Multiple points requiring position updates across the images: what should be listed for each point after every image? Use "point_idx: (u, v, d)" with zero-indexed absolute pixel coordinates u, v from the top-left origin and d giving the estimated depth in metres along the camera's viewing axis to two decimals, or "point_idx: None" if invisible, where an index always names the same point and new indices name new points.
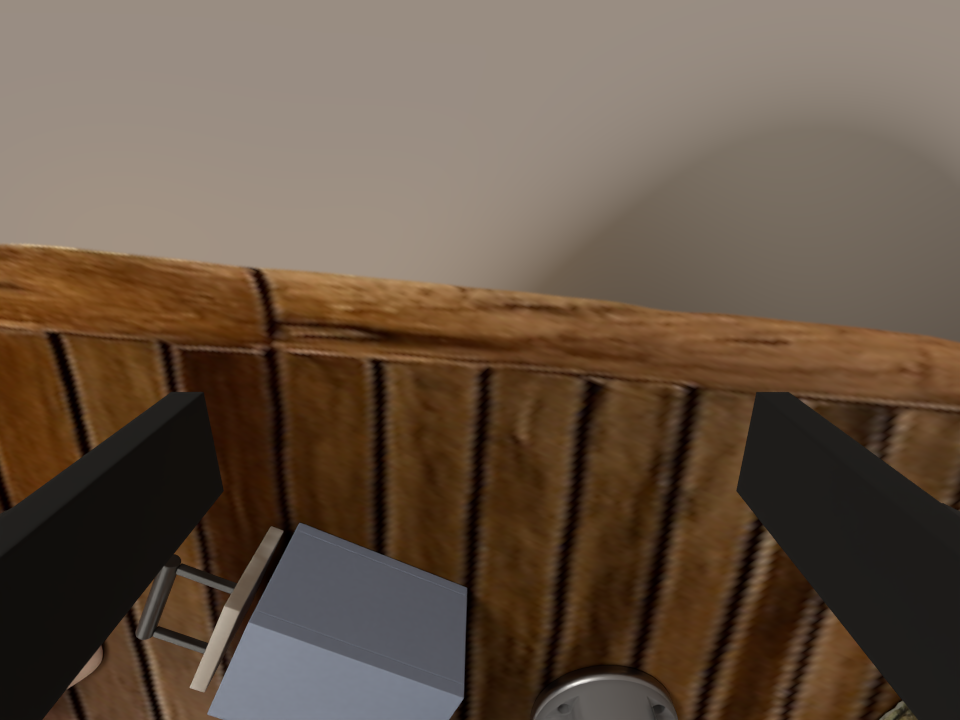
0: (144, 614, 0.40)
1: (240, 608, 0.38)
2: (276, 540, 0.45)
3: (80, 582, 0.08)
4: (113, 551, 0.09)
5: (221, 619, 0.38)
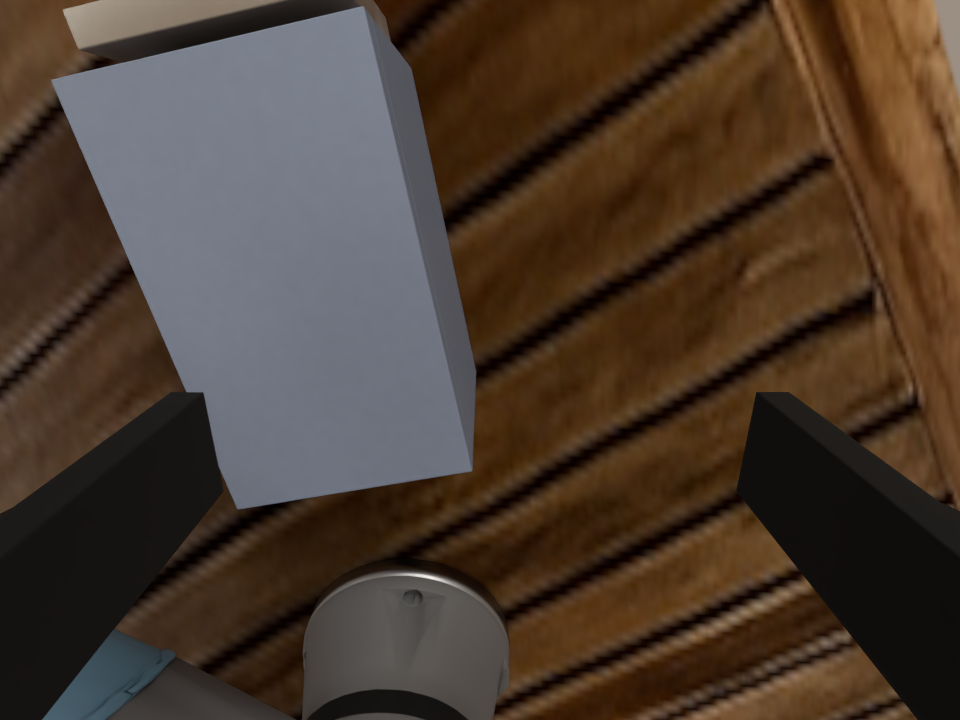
0: None
1: None
2: None
3: (80, 582, 0.08)
4: (113, 551, 0.09)
5: None
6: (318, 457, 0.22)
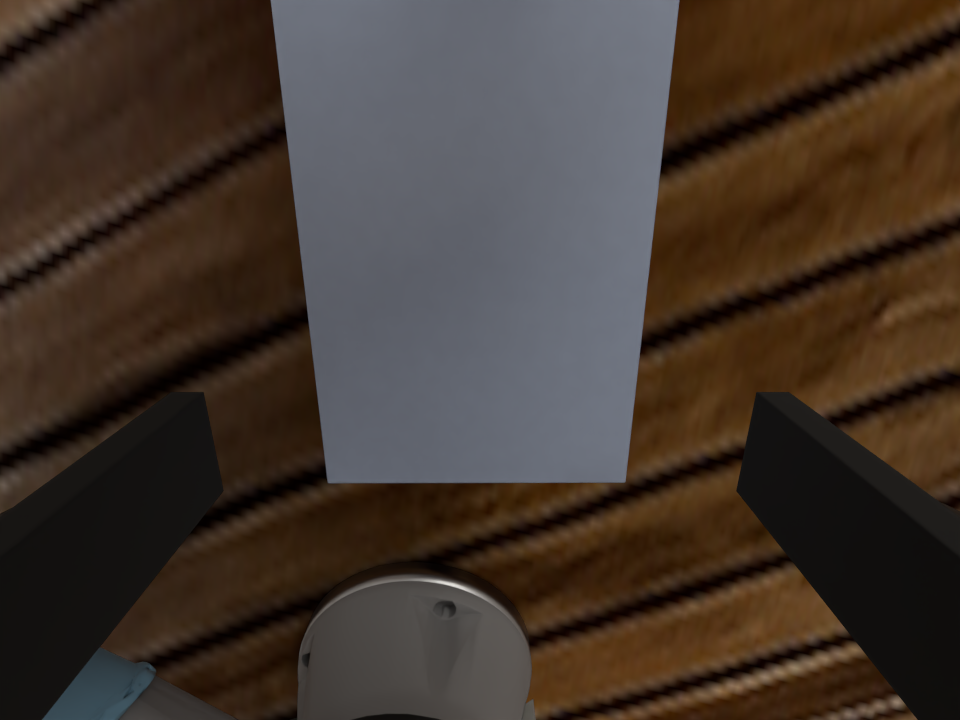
0: None
1: None
2: None
3: (80, 582, 0.08)
4: (113, 551, 0.09)
5: None
6: (448, 436, 0.18)
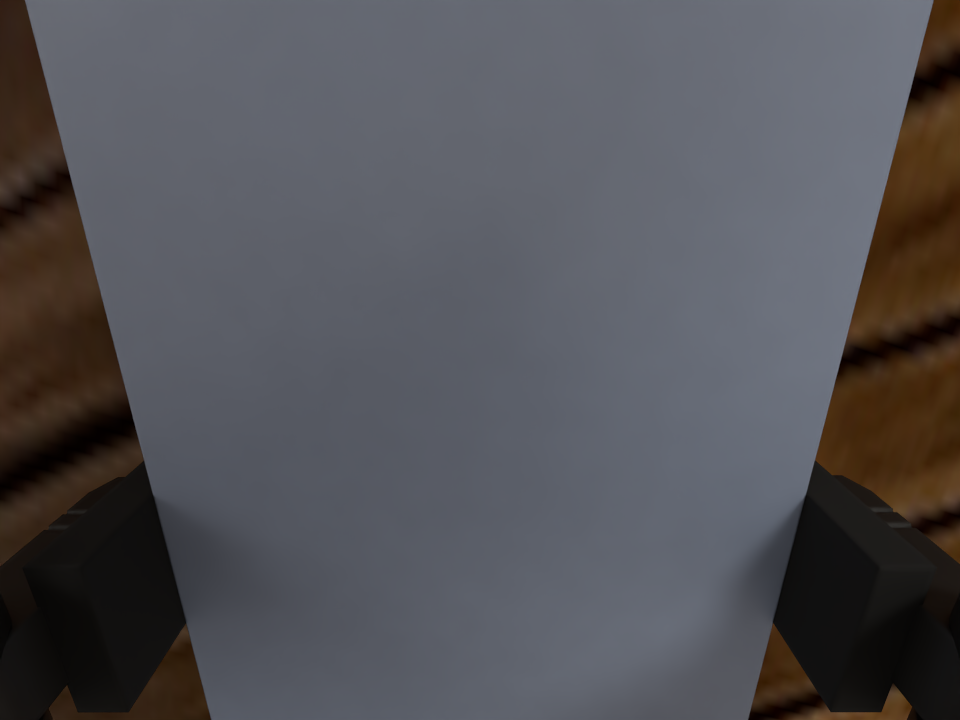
0: None
1: None
2: None
3: None
4: None
5: None
6: (428, 656, 0.09)
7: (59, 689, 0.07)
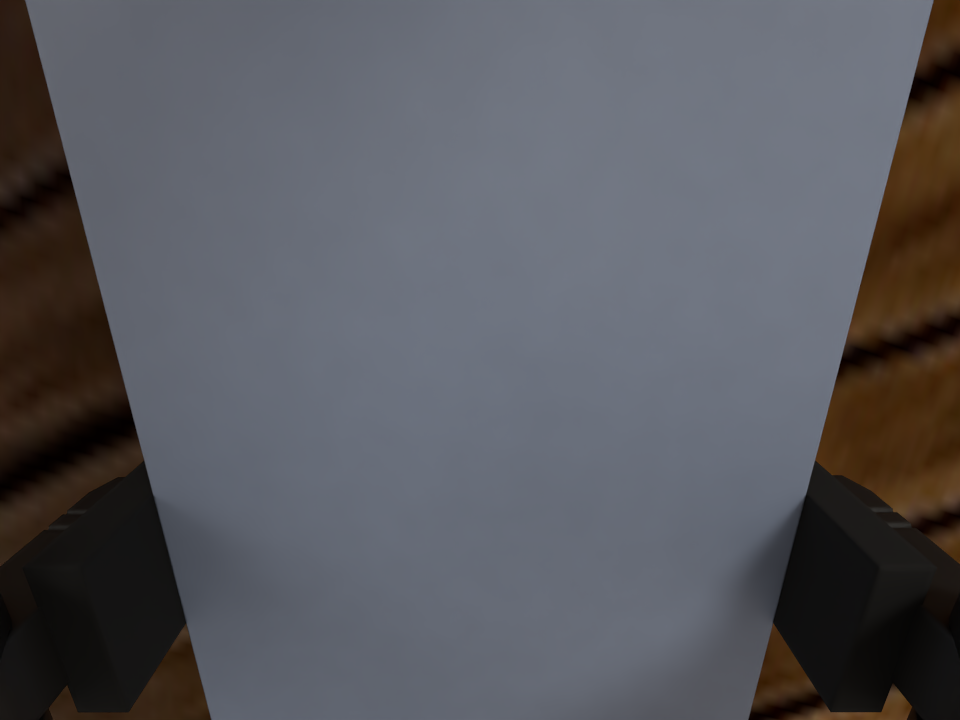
0: None
1: None
2: None
3: None
4: None
5: None
6: (428, 655, 0.09)
7: (59, 690, 0.07)
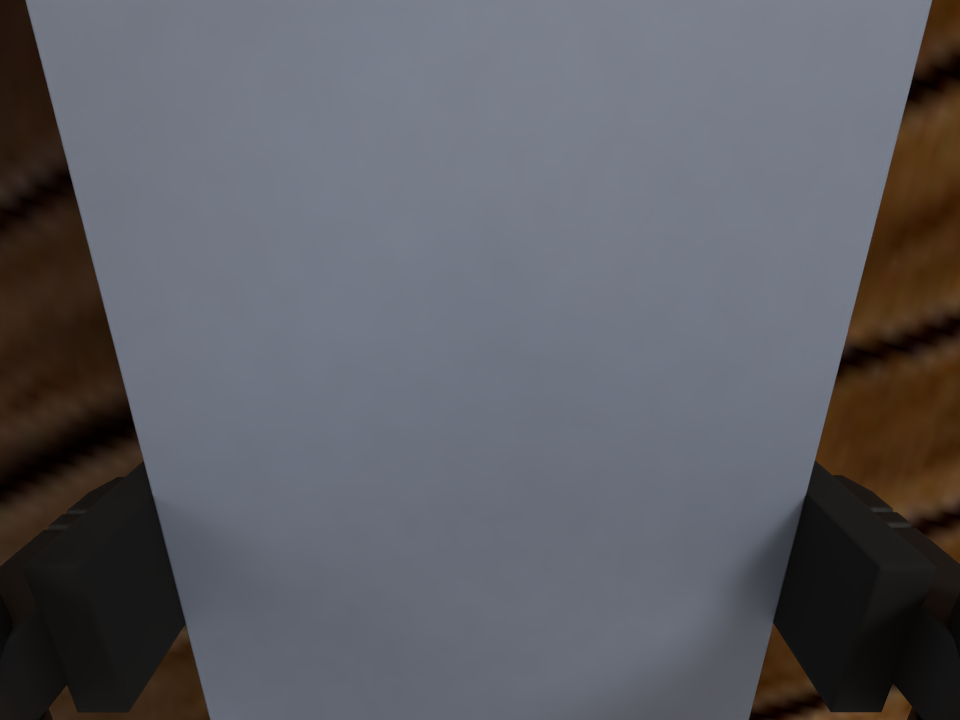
0: None
1: None
2: None
3: None
4: None
5: None
6: (428, 656, 0.09)
7: (59, 689, 0.07)
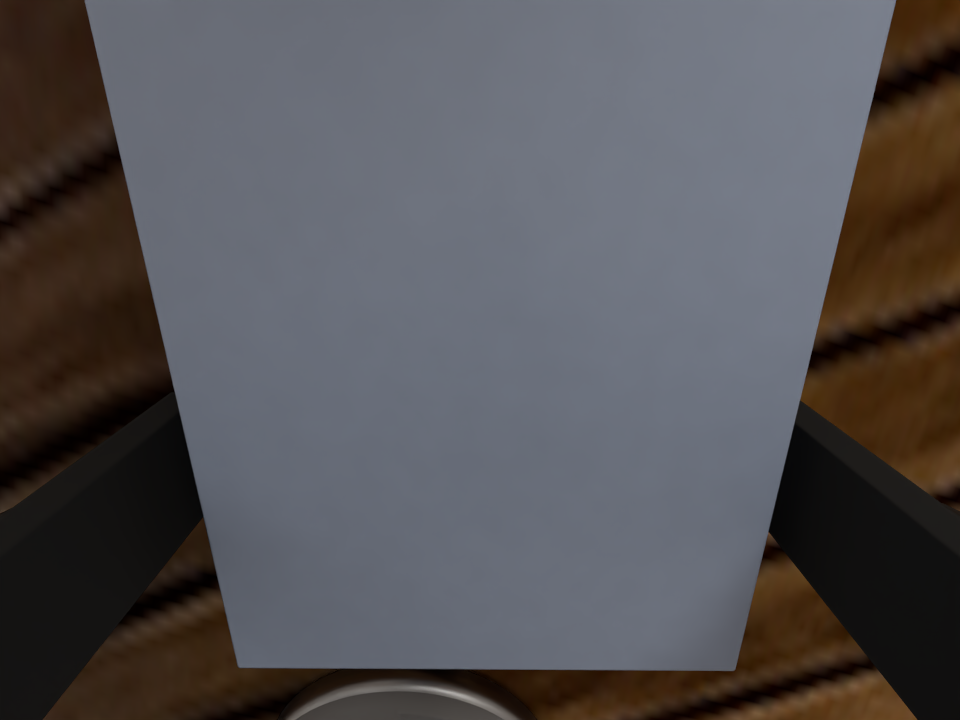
0: None
1: None
2: None
3: (80, 582, 0.08)
4: (112, 551, 0.09)
5: None
6: (438, 601, 0.10)
7: None
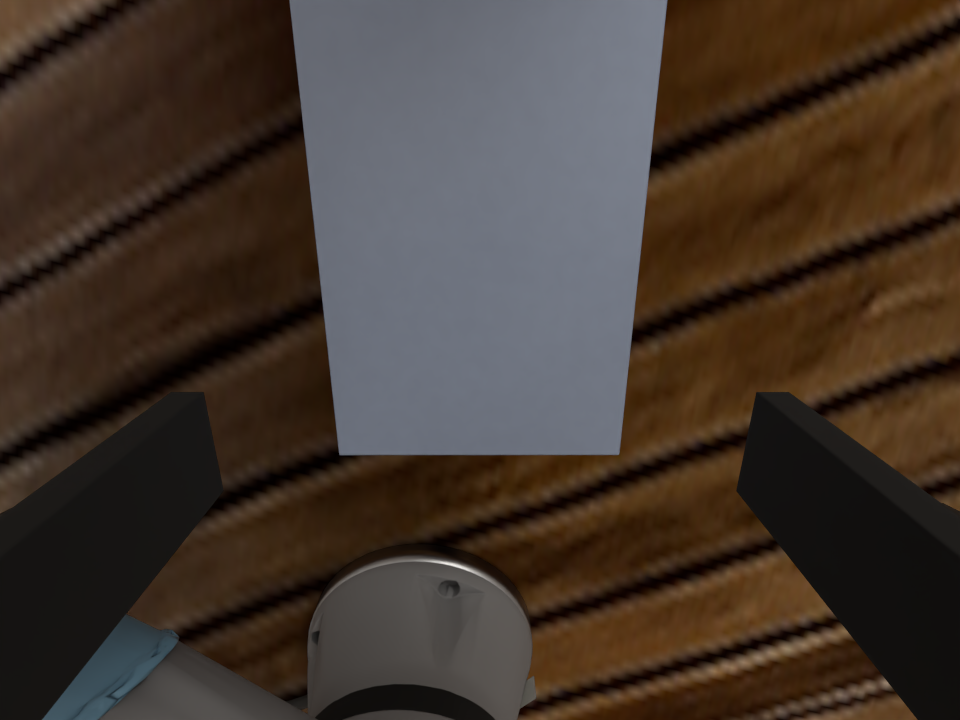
0: None
1: None
2: None
3: (80, 582, 0.08)
4: (113, 551, 0.09)
5: None
6: (452, 410, 0.19)
7: None
